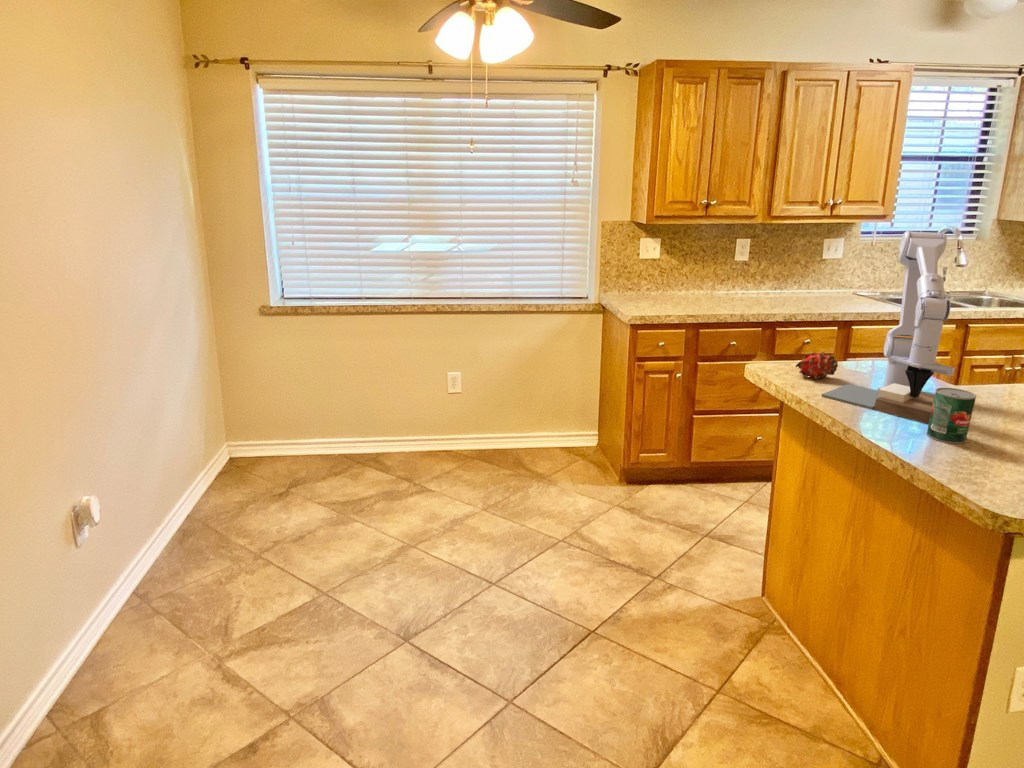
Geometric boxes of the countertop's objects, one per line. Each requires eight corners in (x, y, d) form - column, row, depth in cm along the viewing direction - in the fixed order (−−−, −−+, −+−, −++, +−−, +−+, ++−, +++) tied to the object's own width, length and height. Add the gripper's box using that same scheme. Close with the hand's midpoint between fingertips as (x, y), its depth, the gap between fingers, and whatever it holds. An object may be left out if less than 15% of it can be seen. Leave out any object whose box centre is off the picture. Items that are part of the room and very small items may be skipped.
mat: (848, 385, 194) (848, 383, 194) (897, 397, 185) (898, 395, 184) (821, 396, 185) (821, 394, 184) (871, 409, 175) (872, 407, 175)
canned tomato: (929, 428, 162) (938, 385, 158) (968, 436, 157) (978, 392, 154) (923, 438, 156) (933, 393, 153) (963, 446, 151) (974, 400, 148)
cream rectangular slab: (892, 390, 181) (893, 383, 180) (916, 395, 176) (917, 388, 176) (878, 396, 175) (879, 389, 175) (902, 402, 171) (904, 395, 170)
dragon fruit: (839, 385, 200) (796, 387, 203) (833, 362, 205) (791, 365, 208) (843, 367, 194) (799, 370, 196) (837, 344, 199) (794, 348, 202)
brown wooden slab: (899, 397, 184) (901, 387, 183) (956, 411, 174) (959, 400, 173) (873, 409, 174) (876, 398, 173) (933, 425, 164) (935, 413, 163)
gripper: (888, 341, 171) (878, 392, 176) (951, 353, 161) (940, 406, 165) (899, 338, 176) (890, 387, 180) (962, 349, 165) (950, 401, 169)
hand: (914, 396), depth 173 cm, fingers closed
